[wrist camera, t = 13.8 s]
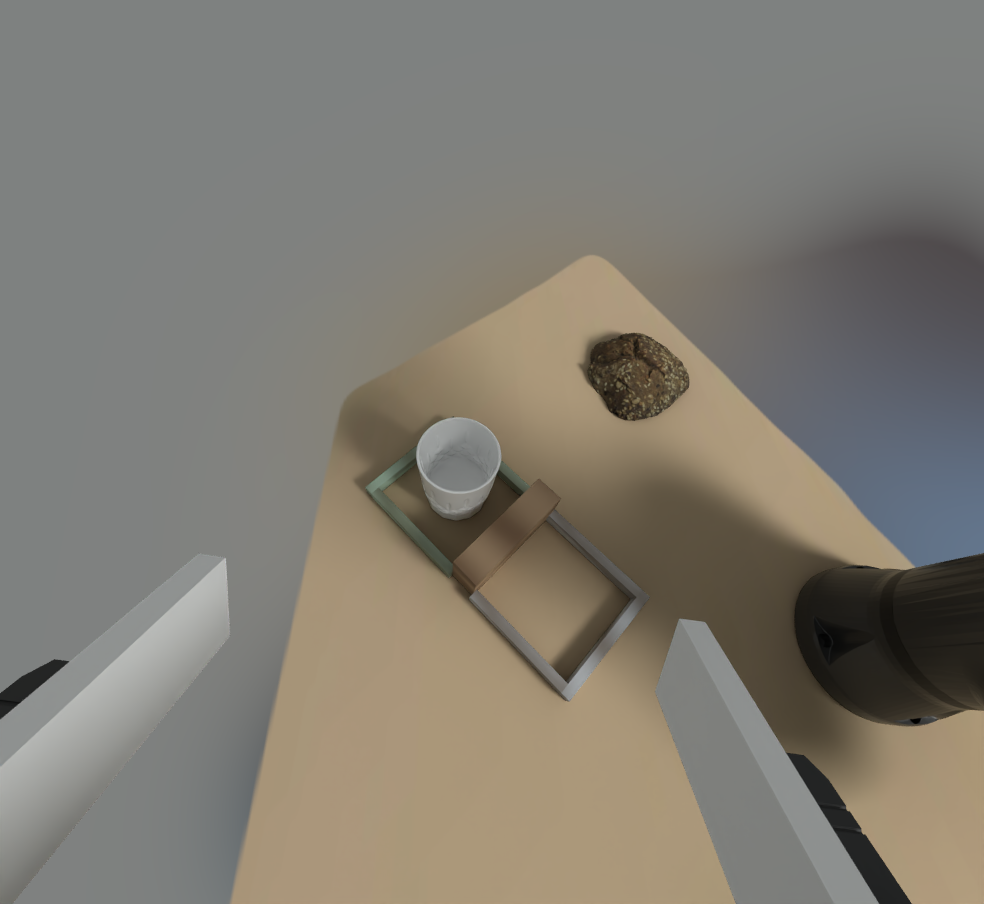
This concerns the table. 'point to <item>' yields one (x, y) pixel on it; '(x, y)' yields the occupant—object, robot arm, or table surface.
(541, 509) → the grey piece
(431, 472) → the white cup
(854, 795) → the table surface
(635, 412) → the bread roll
